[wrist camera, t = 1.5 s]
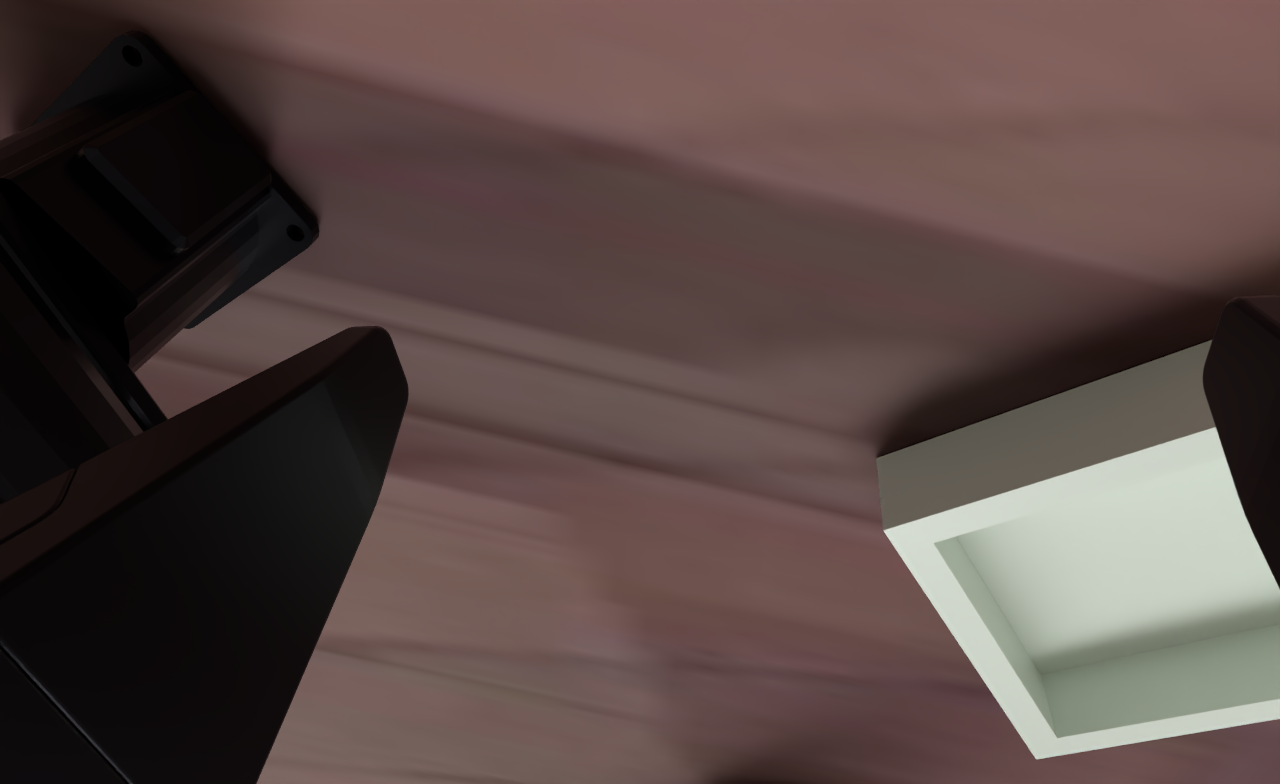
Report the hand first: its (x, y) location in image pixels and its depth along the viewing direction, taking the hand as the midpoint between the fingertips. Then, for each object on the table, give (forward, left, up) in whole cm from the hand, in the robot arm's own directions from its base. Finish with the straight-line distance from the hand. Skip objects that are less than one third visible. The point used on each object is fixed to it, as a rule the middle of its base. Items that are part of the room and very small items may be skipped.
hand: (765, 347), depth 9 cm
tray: (+3, -18, -12) cm, 22 cm away
